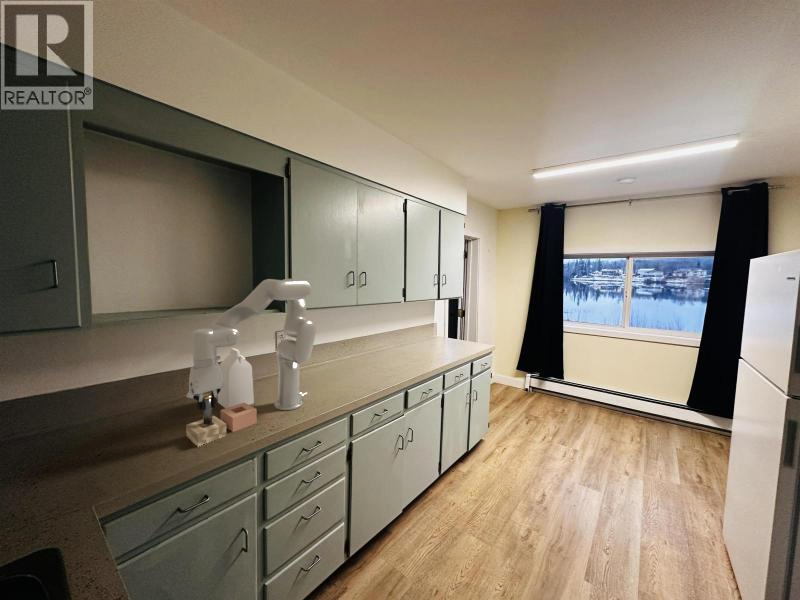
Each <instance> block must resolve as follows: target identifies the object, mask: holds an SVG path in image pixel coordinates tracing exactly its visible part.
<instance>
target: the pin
mask: <svg viewBox="0 0 800 600" xmlns="http://www.w3.org/2000/svg"><path fill="white" fill-rule="evenodd" d="M211 398H212V394H211V393H203V401H204V408H205V411H203V412H202V419H203V424H210V423H212V416H213V407H212V399H211Z"/></svg>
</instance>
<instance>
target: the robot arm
mask: <svg viewBox="0 0 800 600" xmlns="http://www.w3.org/2000/svg"><path fill="white" fill-rule="evenodd" d="M312 292H313V289H312V286H311V283H310V282H309V281H307V280H304V279H295V278H285V279H273V278H267V279H263V280H262V281H261V282H260V283H259V284H258V285H256V287H255V288H254V289H253V290H252V291H251V293H250V294H248V295H247V296H246V298H244V300H242V301H241V302H240V303H237V304H236V305H234V306H233V307H231V308H229V309H227V310H225V312H223V313H222V314H220V315H219V316H218V317H217V318H216V319H215V320H214V321H213V322H212V323H211V325H210V326H209V328H199V329H196V330H194V331H193V332H192V335H191V336H192V338H191V339H192V359H193V366H191V367H190V371H189V378H188V392H187V394H186V396H185V397H186V398H188V399H194V400H195V401H197V410H199V411H200V412H202V413H203V411H205V408H204V401H203V395H204V394H207V393H209V392H210V394H212V398H211V399H212V409H215V408H216V405H217V398H218V393H219V392H220V391H221V390H222V389H223V388H224V387H225V385H224V383H223V382H222V377H221V371H220V367H219V366H220V364H219V363H218V361H219V360H221V356H220V355H217V352H218V351H217V348H223V347H224V348H225V347H226V348H228V347H233V346H234V345H237V343H239V341H240V340H241V333H240V331H239V330H238V329H237V328H236V326H237V325H238V324H239V323H241V322H244V321H247V320H250V319H254V318H256V317H259V316H260V315H261V314H262V313H263V312H264V310H265V309H266V308H267V307H268V306H269V305H270V304H271V303H272V302H273V301H275V300H276V301H286V303H287V311H286V316H285V321H284V326H283V332H284V334H285V335H286V336H288V337H290V338H289V339H288V338H285V339H282V340H280V342H278V343H277V346H276V349H275V353H276V360H277V371H278V372H277V379H278V380H277V388H278V389H277V400H276V401H275V402H274V408H275V409H277V410H279V411H291V410H296V409H298V408H300V407H301V406H302V405H303V400H302V399H303V398H305V397H307V396H308V394H309V393H308V392H307V391H306V392H302V391H300V371H301V370H300V365H305V364H306V363H307V362H308V361H309V360H310V358H311V356H312V352H313V348H314V343H315V339H316V338H315V337H316V326H315V324H314V322H313V321H312V320H310V319H307V318H306V316H307V315H306V314H307V302H306V299H307V298H309V297H310V296H311V294H312ZM291 338H294V339H295V340H293V339H291Z"/></svg>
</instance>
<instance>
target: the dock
mask: <svg viewBox="0 0 800 600" xmlns="http://www.w3.org/2000/svg"><path fill="white" fill-rule="evenodd" d="M257 410H258V409H257V408H255V407H253V406H251V404H249V405H248V404H246V403H241V404H238V405H235V406H232V407H228V408H225V407H224V408H222V409H220V420H221V421H223V422H224V423H226V429H228V430H229V431H230V430H231V431H230V432H232V433H235V432H237V431H240V430H242V429H245V428H247V427H250V426H252V425H255V424H257V423H258V421H257V420H258V419H257V418H258V417H257V415H258V413H257V412H258V411H257Z"/></svg>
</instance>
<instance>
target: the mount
mask: <svg viewBox="0 0 800 600" xmlns="http://www.w3.org/2000/svg"><path fill="white" fill-rule="evenodd" d="M185 427H186V429H185V430H186V438H187V437H188V438H189V439H190V440H191V441H190V440H189V439H188V438H187V439H188V440H189V441H190V442H191V443H193V444H194V445H195V446H196V445H197V448H200V447H202V446H204V445H203V444H205V445H207V444H210V443H212V442H215V441H216V440H217V439H218V440H220V439H222V437H223V438H225V437H227V428H226V423H224V422H223V421H221V418H218V417H217V416H216V415H212V423H210V424H203V418H202V419H200V420H197V421H194V422H191V423H188V424H186V425H185ZM219 438H220V439H219ZM214 440H215V441H214ZM211 441H212V442H211ZM209 442H210V443H209ZM206 443H207V444H206ZM201 445H202V446H201ZM199 446H200V447H199Z"/></svg>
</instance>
